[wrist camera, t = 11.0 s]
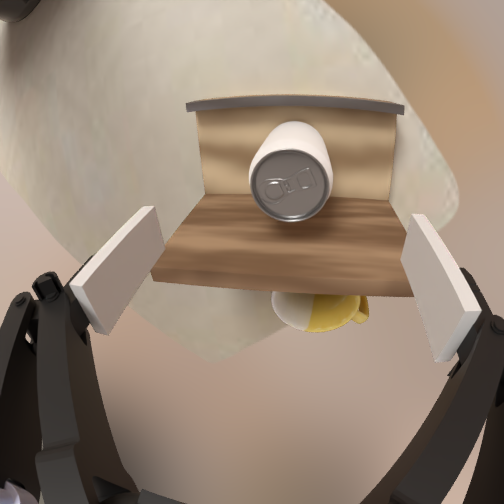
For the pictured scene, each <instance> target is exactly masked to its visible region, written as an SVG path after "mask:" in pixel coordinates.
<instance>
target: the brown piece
mask: <svg viewBox="0 0 504 504" xmlns="http://www.w3.org/2000/svg"><path fill="white" fill-rule="evenodd" d="M186 109H187V112H192V111H196V120H197V129H198V138H199V147H200V155H201V163H202V171H203V179H204V187H205V195H204V196H203V198H202V199H201V200H200V201H199V202H198V204H197V205H196V206H195V207H194V209H193V210H192V211H191V212H190V214H189V215H188V216H187V217H186V219H185V220H184V221H183V222H182V224H181V225H180V226H179V227H178V229H177V230H176V231H175V233H174V234H173V235H172V236H171V238H170V239H169V240H168V242H167V243H166V244H165V250H164V252H163V253H162V254H161V256H160V257H159V259H158V260H157V262H156V263H155V264H154V266H153V267H152V269H151V270H150V272H151V275H152V278H153V281H157V282H167V283H177V284H187V285H198V286H209V287H221V288H233V289H246V290H260V291H275V292H292V293H310V294H330V295H355V296H390V297H391V296H393V297H414V294H413V291H412V289H411V286H410V283H409V281H408V278H407V275H406V273H405V270H404V268H403V265H402V263H401V260H400V259H401V255H402V251H403V248H404V244H405V239H406V235H407V233H406V231H405V229H404V227H403V225H402V224H401V222H400V220H399V218H398V216H397V215H396V213H395V211H394V209H393V208H392V206H391V204H390V203H389V201H388V199H389V192H390V184H391V176H392V168H393V158H394V147H395V135H396V118H397V114H400V115H404V105H400V104H396V103H393V102H388V101H381V100H373V99H364V98H354V97H343V96H327V95H296V94H281V95H249V96H234V97H221V98H211V99H203V100H198V101H193V102H189V103H186ZM289 121H299V122H304V123H306V124H309V125H310V126H312V127H313V128H315V129H316V130H317V131H318V132H319V134H320V135H321V137H322V139H323V141H324V143H325V146H326V149H327V153H328V156H329V159H330V163H331V167H332V172H333V186H332V191H331V193H330V196H329V198H328V199H327V201H326V203H325V205H324V206H323V208H322V209H321V210H320V211H319V212H318V213H317V214H315V215H314V216H313V217H311V218H309V219H307V220H304V221H300V222H283V221H279V220H276V219H274V218H271V217H270V216H268V215H267V214H265V213H264V212H263V211H262V210H261V209H260V208H259V207H258V206H257V204H256V203H255V201H254V199H253V197H252V194H251V189H250V184H249V170H250V166H251V163H252V160H253V158H254V157H255V155H256V153H257V152H258V150H259V149H260V147H261V146H262V144H263V143H264V141H265V140H266V138H267V137H268V135H269V134H270V133H271V132H272V130H273V129H275V128H276V127H277V126H279V125H280V124H282V123H285V122H289Z"/></svg>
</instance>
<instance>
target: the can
mask: <svg viewBox="0 0 504 504" xmlns="http://www.w3.org/2000/svg"><path fill="white" fill-rule="evenodd" d="M249 184H250V189H251V194H252V197H253V199H254V201H255V203H256V204H257V206H258V207H259V208H260V209H261V210H262V211H263V212H264V213H265V214H267V215H268V216H270V217H271V218H274V219H276V220H279V221H283V222H300V221H304V220H307V219H309V218H311V217H313V216H314V215H315V214H317V213H318V212H319V211H320V210H321V209H322V208H323V206H324V205H325V203H326V201H327V199H328V198H329V196H330V193H331V191H332V186H333V172H332V167H331V163H330V159H329V156H328V153H327V149H326V146H325V143H324V141H323V139H322V137H321V135H320V134H319V132H318V131H317V130H316V129H315V128H313V127H312V126H310V125H309V124H306V123H304V122H299V121H289V122H285V123H282V124H280V125H279V126H277V127H276V128H275V129H273V130H272V132H271V133H270V134H269V135H268V137H267V138H266V140H265V141H264V143H263V144H262V146H261V147H260V149H259V150H258V152H257V153H256V155H255V157H254V158H253V160H252V163H251V166H250V170H249Z"/></svg>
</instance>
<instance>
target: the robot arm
mask: <svg viewBox="0 0 504 504" xmlns="http://www.w3.org/2000/svg"><path fill="white" fill-rule="evenodd" d="M39 1H40V0H0V20H3V21H5V22H14V21H19V20H21V19H23V18H25V17H26V16H27V15H28V14H29V13H30V12H31V11H32V10H33V9H34V8H35V6H36V5H37V4H38V2H39ZM164 250H165V246H164V242H163V238H162V234H161V230H160V226H159V222H158V217H157V213H156V209H155V206H143V207H142V208H141V209H140V210H139V211H138V212H136V213H135V214H134V215H133V216H132V217H131V218H130V219H129V220H128V221H127V222H126V223H125V224H124V225H123V226H122V227H121V228H120V229H119V230H118V231H117V232H116V233H115V234H114V235H113V236H112V237H111V238H110V239H109V240H108V241H107V243H106V244H105V245H104V246H103V247H102V248H101V249H100V250H99V251H98V252H97V253H95V254H94V255H92V256H91V257H90V258H89V259H88V260H87V261H86V262H85V263H84V265H82V267H81V268H80V269H79V271H77V272H76V273H75V274H74V276H73V277H72V278H71V279H70V280H69V281H68V282H67V284H66V285H65V286H64V287H63V286H62V284H61V282H60V280H59V278H58V276H57V274H56V273H55V272H47V273H44V274H43V275H40V276H39V277H38V278H37V279H36V280H35V281H34V283H33V285H32V288H33V290H34V292H35V293H36V295H37V297H38V299H39V300H34V299H33V297H32V295H31V294H30V293H29V292H23V293H20V294H19V295H17V296H16V297H15V298H14V299H13V301H12V302H11V304H10V307H9V309H8V311H7V313H6V316H5V318H4V321H3V323H2V326H1V328H0V504H39V499H40V491H41V492H42V495H43V499H44V503H45V504H185V503H182V502H179V501H176V500H173V499H169V498H166V497H163V496H160V495H157V494H155V493H152V492H149V491H146V490H144V489H142V490H141V492H139V491H138V489H137V487H136V485H135V483H134V481H133V479H132V478H131V476H130V475H129V474H128V473H127V472H126V470H125V469H124V467H123V465H122V463H121V460H120V457H119V454H118V452H117V449H116V446H115V443H114V440H113V437H112V434H111V430H110V427H109V423H108V420H107V416H106V413H105V409H104V405H103V401H102V397H101V393H100V389H99V384H98V380H97V376H96V370H95V365H94V359H93V354H92V348H91V341H90V335H89V332H88V330H87V327H88V325H89V323H90V324H91V325H92V327H93V329H94V330H95V332H97V333H101V334H104V335H109V334H110V332H111V330H112V329H113V327H114V325H115V324H116V322H117V321H118V319H119V317H120V316H121V314H122V313H123V311H124V310H125V308H126V306H127V305H128V303H129V302H130V300H131V299H132V297H133V296H134V294H135V293H136V291H137V290H138V288H139V287H140V285H141V284H142V282H143V281H144V279H145V278H146V276H147V275H148V273H149V272H150V270H151V269H152V267H153V266H154V264H155V263H156V262H157V260H158V259H159V257H160V256H161V254H162V253H163V252H164ZM400 260H401V263H402V265H403V268H404V270H405V273H406V275H407V278H408V281H409V283H410V286H411V289H412V291H413V294H414V297H415V299H416V302H417V306H418V309H419V312H420V315H421V318H422V321H423V324H424V327H425V331H426V334H427V337H428V341H429V344H430V348H431V352H432V355H433V359H434V362H435V363H436V362H445V361H450V360H451V359H452V358H453V356H454V355H455V353H456V352H457V353H458V356H459V361H458V362H457V363H456V364H455V366H454V367H453V369H452V370H451V371H450V372H449V374H448V375H447V376H450V377H449V379H448V381H447V383H446V385H445V387H444V389H443V391H442V392H441V394H440V396H439V398H438V399H437V401H436V403H435V405H434V406H433V408H432V410H431V411H430V413H429V415H428V416H427V418H426V420H425V421H424V423H423V424H422V426H421V428H420V429H419V430H418V432H417V434H416V435H415V436H414V438H413V439H412V441H411V442H410V444H409V445H408V446H407V448H406V449H405V451H404V452H403V453H402V455H401V456H400V457H399V459H398V460H397V461H396V462H395V464H394V465H393V466H392V468H391V469H390V470H389V471H388V472H387V474H386V475H385V476H384V477H383V478H382V480H381V481H380V482H379V483H378V484H377V485H376V487H375V488H374V489H373V490H372V491H371V492H370V493H369V494H368V495H367V496H366V498H365V499H364V500H363V501H362V502H361V503H360V504H441V502H442V501H443V499H444V498H445V496H446V495H447V493H448V492H449V490H450V489H451V487H452V486H453V484H454V482H455V481H456V479H457V477H458V475H459V474H460V472H461V470H462V468H463V467H464V465H465V463H466V461H467V459H468V457H469V455H470V453H471V451H472V449H473V447H474V445H475V443H476V441H477V439H478V437H479V434H480V432H481V430H482V428H483V425H484V423H485V420H486V418H487V420H486V425H485V430H484V435H483V440H482V444H481V448H480V452H479V456H478V459H477V463H476V466H475V470H474V473H473V476H472V480H471V482H470V485H469V488H468V491H467V494H466V497H465V499H464V501H463V504H504V319H503V318H501V317H500V316H497V315H493V314H492V312H491V310H490V308H489V306H488V304H487V302H486V300H485V298H484V296H483V295H482V293H481V292H480V289H479V287H478V286H477V285H476V282H475V280H474V279H473V277H472V275H471V274H469V272H468V271H466V270H465V269H464V268H459V267H458V266H457V264H456V262H455V260H454V259H453V257H452V255H451V254H450V252H449V251H448V249H447V248H446V246H445V244H444V243H443V241H442V240H441V238H440V237H439V235H438V234H437V232H436V231H435V229H434V228H433V226H432V225H431V223H430V222H429V220H428V219H427V218H426V216H425V215H422V214H411V217H410V222H409V227H408V231H407V235H406V239H405V244H404V248H403V251H402V255H401V259H400ZM26 333H27V334H28V335H29V337H30V338H31V342H30V343H29V342H28V341H27V340H26V338H25V335H26ZM42 439H43V450H42V449H41V448H42ZM41 450H42V451H41Z"/></svg>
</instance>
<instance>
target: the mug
mask: <svg viewBox="0 0 504 504" xmlns="http://www.w3.org/2000/svg"><path fill="white" fill-rule="evenodd" d="M271 303H272V307H273V310H274V311H275V313H276V315H277V316H278V317H279V318H280V319H281V320H282V321H283V322H284V323H286V324H287V325H289V326H291V327H293V328H295V329H298V330H301V331H306V332H325V331H331V330H334V329H337V328H339V327H341V326H343V325H345V324H346V323H347V322H349V321H350V320H353V321H354V322H356V323H358V324H361V323H363V322H365V321H366V320H367V319H368V317H369V308H368V302H367V298H366V296H355V295H330V294H310V293H292V292H275V291H272V295H271ZM358 308H359V310H358Z"/></svg>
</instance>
